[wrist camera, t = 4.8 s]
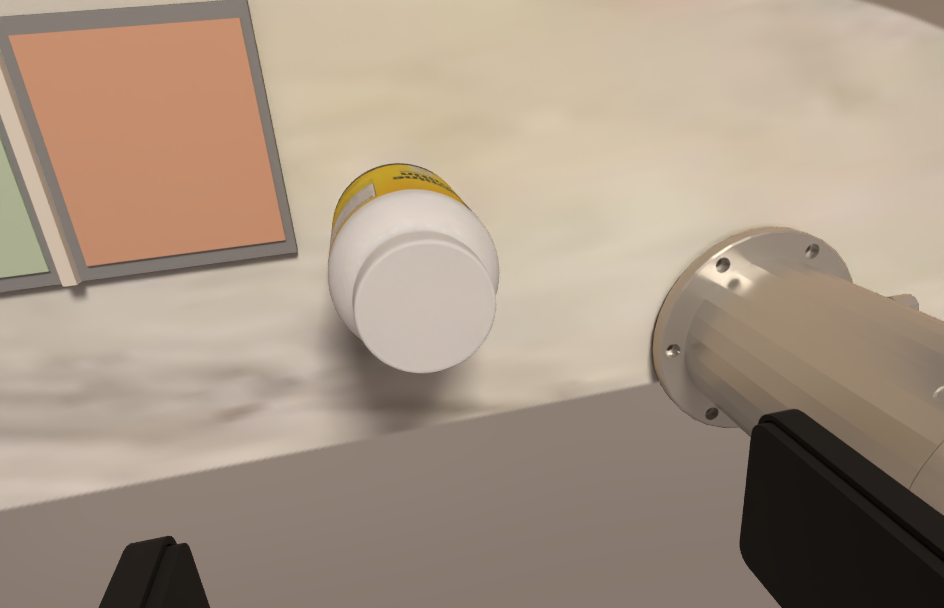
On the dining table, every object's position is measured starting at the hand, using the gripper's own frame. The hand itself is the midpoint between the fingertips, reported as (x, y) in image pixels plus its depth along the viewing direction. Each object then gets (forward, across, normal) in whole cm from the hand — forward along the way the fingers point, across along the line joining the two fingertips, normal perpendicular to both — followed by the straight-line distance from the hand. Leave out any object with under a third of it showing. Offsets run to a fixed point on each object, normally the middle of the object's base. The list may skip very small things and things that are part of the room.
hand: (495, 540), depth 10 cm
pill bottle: (+22, 0, 0) cm, 22 cm away
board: (+22, +15, -5) cm, 27 cm away
